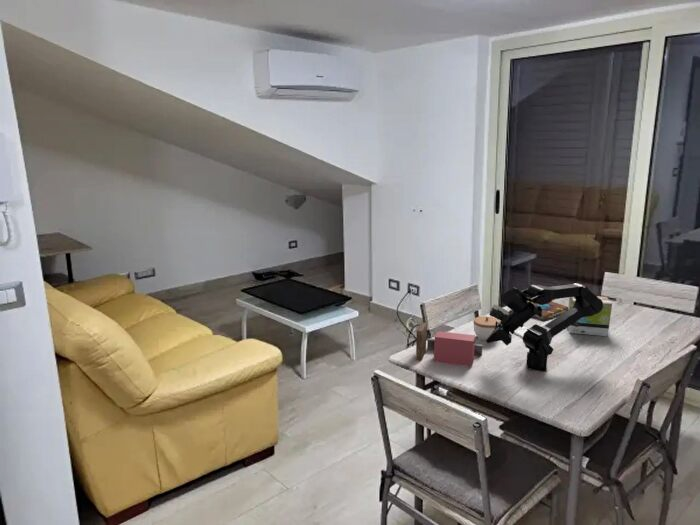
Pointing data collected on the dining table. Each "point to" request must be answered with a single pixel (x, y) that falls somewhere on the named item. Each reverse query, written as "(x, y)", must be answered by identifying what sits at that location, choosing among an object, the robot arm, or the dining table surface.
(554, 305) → the book
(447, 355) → the pink rectangular block
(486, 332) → the lidded jar
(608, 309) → the tea box
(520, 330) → the external hard drive
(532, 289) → the robot arm
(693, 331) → the dining table surface
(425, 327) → the bookend
